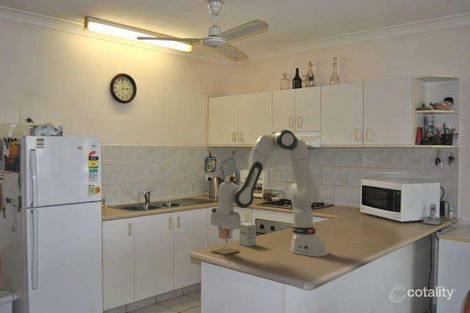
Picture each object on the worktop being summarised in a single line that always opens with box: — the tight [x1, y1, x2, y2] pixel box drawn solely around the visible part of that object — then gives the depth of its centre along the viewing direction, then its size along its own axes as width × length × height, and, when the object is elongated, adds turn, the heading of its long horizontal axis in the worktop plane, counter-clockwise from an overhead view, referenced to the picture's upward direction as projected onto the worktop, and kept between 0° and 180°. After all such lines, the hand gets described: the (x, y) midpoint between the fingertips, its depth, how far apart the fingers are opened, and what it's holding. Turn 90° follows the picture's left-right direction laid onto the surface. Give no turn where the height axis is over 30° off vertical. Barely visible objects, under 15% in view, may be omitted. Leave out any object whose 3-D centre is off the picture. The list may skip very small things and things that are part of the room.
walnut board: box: [211, 246, 240, 257], centre depth 229 cm, size 11×11×1 cm
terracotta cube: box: [218, 227, 233, 240], centre depth 229 cm, size 5×5×5 cm
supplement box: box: [238, 222, 257, 247], centre depth 248 cm, size 7×7×13 cm
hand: (225, 235), depth 229 cm, fingers closed on terracotta cube, 5 cm apart
